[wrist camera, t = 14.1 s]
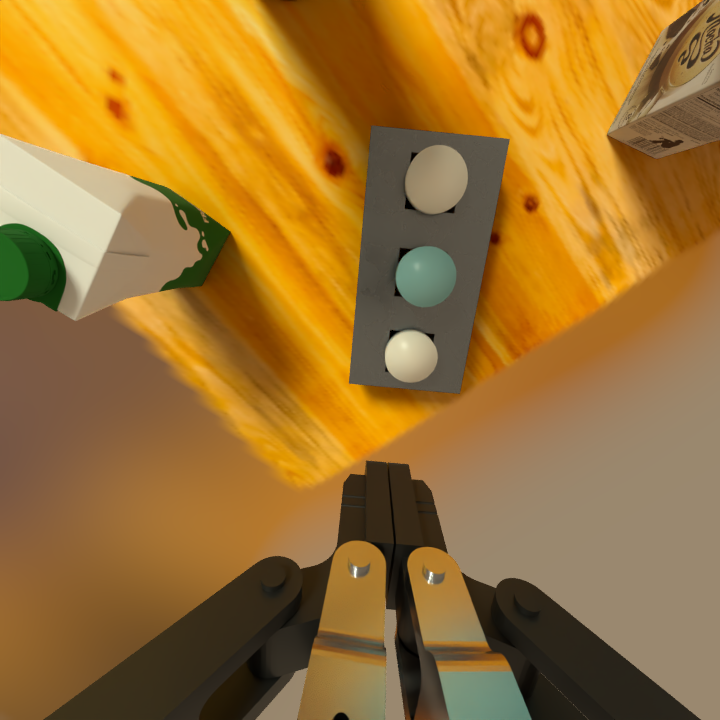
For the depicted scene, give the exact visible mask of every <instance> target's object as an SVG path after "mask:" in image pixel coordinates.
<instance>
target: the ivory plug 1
mask: <svg viewBox="0 0 720 720" xmlns="http://www.w3.org/2000/svg"><path fill="white" fill-rule="evenodd" d="M467 182H468V171H467V167H466V164H465V161H464V159H463V158H462V156H461V155H460V154H459V153H458V152H457V151H456V150H454V149H453V148H451V147H448V146H445V145H434V146H430V147H428V148H425V149H424V150H422V151H421V152H420V153H418V155H417V156H416V157H415V158H414V159H413V161H412V162H411V164H410V166H409V168H408V170H407V173H406V177H405V192H406V196H407V198H408V200H409V202H410V204H411V205H412V206H413V207H414V208H415V209H416V210H418V211H420V212H422V213H424V214H429V215H434V214H440V213H442V212H445V211H447V210H449V209H450V208H452V207H453V206H455V205H456V204H457V203H458V202H459V200H460V199H461V198H462V196H463V194H464V192H465V190H466V187H467Z"/></svg>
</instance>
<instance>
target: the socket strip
mask: <svg viewBox="0 0 720 720" xmlns="http://www.w3.org/2000/svg"><path fill="white" fill-rule="evenodd" d="M509 140H510V139H504V138H493V137H483V136H473V135H463V134H452V133H442V132H432V131H422V130H412V129H401V128H391V127H381V126H371V136H370V148H369V159H368V171H367V182H366V194H365V205H364V217H363V228H362V240H361V251H360V263H359V274H358V286H357V297H356V309H355V320H354V332H353V343H352V355H351V366H350V378H349V383H350V384H360V385H371V386H382V387H393V388H404V389H414V390H425V391H436V392H447V393H458V394H460V389H461V384H462V379H463V374H464V369H465V364H466V359H467V354H468V348H469V343H470V338H471V333H472V328H473V323H474V318H475V313H476V308H477V303H478V298H479V292H480V287H481V282H482V277H483V272H484V267H485V262H486V257H487V252H488V247H489V242H490V236H491V231H492V226H493V221H494V216H495V211H496V206H497V201H498V196H499V191H500V186H501V181H502V175H503V170H504V165H505V160H506V155H507V150H508V145H509ZM434 145H445V146H448V147H451V148H453V149H454V150H456V151H457V152H458V153H459V154H460V155H461V156H462V158H463V159H464V161H465V164H466V167H467V171H468V182H467V187H466V190H465V192H464V194H463V196H462V198H461V199H460V200H459V202H458V203H457V204H456V205H455V206H453V207H452V208H450V209H449V210H447V211H445V212H444V213H440V214H434V215H429V214H424V213H422V212H420V211H418V210H411V209H405V201H406V192H405V177H406V173H407V170H408V168H409V166H410V164H411V162H412V161H413V159H414V158H415V157H416V156H417V155H418V153H420V152H421V151H422V150H424V149H425V148H428V147H430V146H434ZM423 246H432V247H437V248H439V249H442V250H443V251H445V252H446V253H447V254H448V255H449V256H450V257H451V259H452V260H453V262H454V264H455V268H456V282H455V286H454V288H453V290H452V292H451V293H450V295H449V296H448V297H447V298H446V299H445V300H444V301H443V302H441V303H439V304H437V305H435V306H431V307H418V306H415V305H413V304H411V303H409V302H408V301H406V300H405V299H404V298H403V296H402V295H401V294H400V292H399V291H395V284H396V281H395V273H396V269H397V266H398V259H399V251H400V248H402V249H415V248H417V247H423ZM408 329H413V330H418V331H421V332H423V333H425V334H426V335H427V336H428V337H429V338H430V339H431V341H432V342H433V343H434V345H435V347H436V350H437V354H438V359H437V364H436V367H435V369H434V370H433V372H432V373H431V374H430V375H429V376H428V377H427V378H425V379H423V380H421V381H418V382H412V383H408V382H403V381H400V380H398V379H396V378H395V377H394V376H392V375H391V373H390V372H389V371H388V369H387V366H386V362H385V348H386V345H387V343H388V341H389V334H390V330H399V331H403V330H408Z"/></svg>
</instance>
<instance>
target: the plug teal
mask: <svg viewBox="0 0 720 720" xmlns="http://www.w3.org/2000/svg"><path fill="white" fill-rule="evenodd" d="M395 281H396V286H397V288H398V290H399V292H400V294H401V295H402V296H403V298H404V299H405V300H406V301H408V302H409V303H411V304H413V305H415V306H418V307H431V306H435V305H437V304H439V303H441V302H443V301H444V300H445V299H446V298H447V297H448V296H449V295H450V293H451V292H452V290H453V288H454V286H455V282H456V268H455V264H454V262H453V260H452V259H451V257H450V256H449V255H448V254H447V253H446V252H445V251H443V250H442V249H439V248H437V247H432V246H423V247H417V248H415V249H412V250H411V251H409V252H408V253H406V254H405V255H404V256H403V257H402V259H401V260H400V262H399V264H398V266H397V269H396V273H395Z"/></svg>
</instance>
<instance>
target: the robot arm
mask: <svg viewBox="0 0 720 720" xmlns="http://www.w3.org/2000/svg"><path fill="white" fill-rule="evenodd" d="M385 598H386V609H393V610H396V619H397V625H396V631H395V638H394V639H395V649H396V656H397V663H398V671H399V678H400V686H401V693H402V700H403V708H404V715H405V720H588V719H589V720H701V719H699V718H698V717H697V716H696V715H694V714H693V713H692V712H691V711H689V710H688V709H687V708H686V707H684V706H683V705H682V704H681V703H680V702H678V701H677V700H676V699H675V698H673V697H672V696H671V695H670V694H668V693H667V692H666V691H665V690H663V689H662V688H661V687H660V686H659V685H657V684H656V683H655V682H654V681H652V680H651V679H650V678H649V677H647V676H646V675H645V674H644V673H642V672H641V671H640V670H639V669H637V668H636V667H635V666H634V665H632V664H631V663H630V662H629V661H628V660H626V659H625V658H624V657H623V656H621V655H620V654H619V653H618V652H616V651H615V650H614V649H613V648H611V647H610V646H609V645H608V644H606V643H605V642H604V641H603V640H602V639H600V638H599V637H598V636H597V635H595V634H594V633H593V632H592V631H591V630H589V629H588V628H587V627H585V626H584V625H583V624H582V623H580V622H579V621H578V620H577V619H576V618H574V617H573V616H572V615H571V614H570V613H568V612H567V611H566V610H565V609H563V608H562V607H561V606H560V605H558V604H557V603H556V602H555V601H553V600H552V599H551V598H550V597H548V596H547V595H546V594H545V593H543V592H542V591H541V590H540V589H538V588H537V587H536V586H534V585H532V584H530V583H529V582H526V581H524V580H521V579H516V578H508V579H504V580H502V581H501V582H500V583H499V584H498V585H497V588H494V587H491V586H489V585H486V584H484V583H481V582H478V581H476V580H474V579H471V578H470V577H468V576H466V575H465V574H464V573H462V572H461V571H460V568H459V566H458V564H457V563H456V561H455V560H454V559H453V558H452V557H451V556H449V555H448V552H447V549H446V545H445V542H444V537H443V534H442V530H441V526H440V522H439V518H438V515H437V511H436V507H435V505H434V499H433V496H432V492H431V490H430V489H429V488H428V486H427V485H426V484H425V483H424V481H422V480H412V479H411V475H410V469H409V465H408V464H398V463H386V462H375V461H366V466H365V475H355V474H350V476H349V477H348V478H347V480H346V481H345V482H344V485H343V494H342V504H341V513H340V524H339V533H338V542H337V547H336V549H335V551H334V553H333V554H332V555H331V557H329V559H327V560H326V561H324V562H323V563H321V564H318V565H315V566H312V567H307V568H303V569H300V568H299V566H298V565H297V564H296V563H295V562H294V561H293V560H291V559H289V558H286V557H281V556H273V557H268V558H265V559H263V560H261V561H259V562H257V563H256V564H255V565H253V566H252V567H250V568H249V569H248V570H246V571H245V572H244V573H242V574H241V575H240V576H238V577H237V578H235V579H234V580H233V581H232V582H230V583H229V584H227V585H226V586H225V587H223V588H222V589H221V590H219V591H218V592H216V593H215V594H214V595H212V596H211V597H210V598H209V599H207V600H206V601H204V602H203V603H202V604H200V605H199V606H197V607H196V608H195V609H193V610H192V611H191V612H189V613H188V614H187V615H185V616H184V617H183V618H181V619H180V620H178V621H177V622H176V623H174V624H173V625H172V626H170V627H169V628H168V629H166V630H165V631H164V632H162V633H161V634H160V635H158V636H157V637H155V638H154V639H153V640H151V641H150V642H149V643H147V644H146V645H145V646H143V647H142V648H140V649H139V650H138V651H136V652H135V653H134V654H132V655H131V656H130V657H128V658H127V659H125V660H124V661H123V662H121V663H120V664H119V665H117V666H116V667H115V668H113V669H112V670H111V671H109V672H108V673H107V674H105V675H104V676H102V677H101V678H100V679H98V680H97V681H95V682H94V683H93V684H92V685H90V686H89V687H87V688H86V689H85V690H83V691H82V692H81V693H79V694H78V695H76V696H75V697H74V698H72V699H71V700H70V701H68V702H67V703H66V704H65V705H63V706H62V707H60V708H59V709H57V710H56V711H55V712H53V713H52V714H51V715H49V716H48V717H47V718H45V719H44V720H255V719H256V718H257V717H258V716H259V715H260V714H261V712H262V711H263V710H264V709H265V708H266V707H267V706H268V705H269V703H270V702H271V701H272V700H273V699H274V698H275V697H276V695H277V694H278V693H279V692H280V691H281V690H282V689H283V688H284V686H285V685H286V684H287V683H288V682H289V681H290V679H291V678H292V677H293V675H294V673H295V671H298V670H301V669H304V668H308V670H307V675H306V680H305V684H304V689H303V694H302V698H301V703H300V708H299V713H298V718H297V720H385V703H386V700H385V699H386V648H385V647H384V624H385V621H384V620H385ZM558 690H559V691H558ZM573 704H574V705H573ZM587 718H588V719H587Z"/></svg>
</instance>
